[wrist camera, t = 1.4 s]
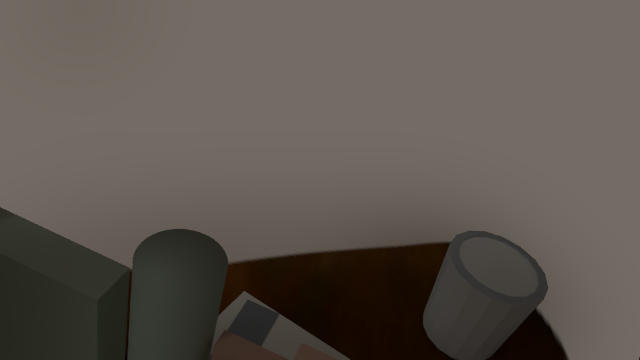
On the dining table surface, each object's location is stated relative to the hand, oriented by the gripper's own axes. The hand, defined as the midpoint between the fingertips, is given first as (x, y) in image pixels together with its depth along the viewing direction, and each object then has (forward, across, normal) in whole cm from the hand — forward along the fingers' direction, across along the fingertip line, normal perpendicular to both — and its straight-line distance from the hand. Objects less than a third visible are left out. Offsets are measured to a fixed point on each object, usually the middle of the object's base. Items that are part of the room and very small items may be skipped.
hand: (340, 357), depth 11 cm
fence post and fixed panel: (+12, -12, -16) cm, 23 cm away
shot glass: (+23, +12, -19) cm, 32 cm away
